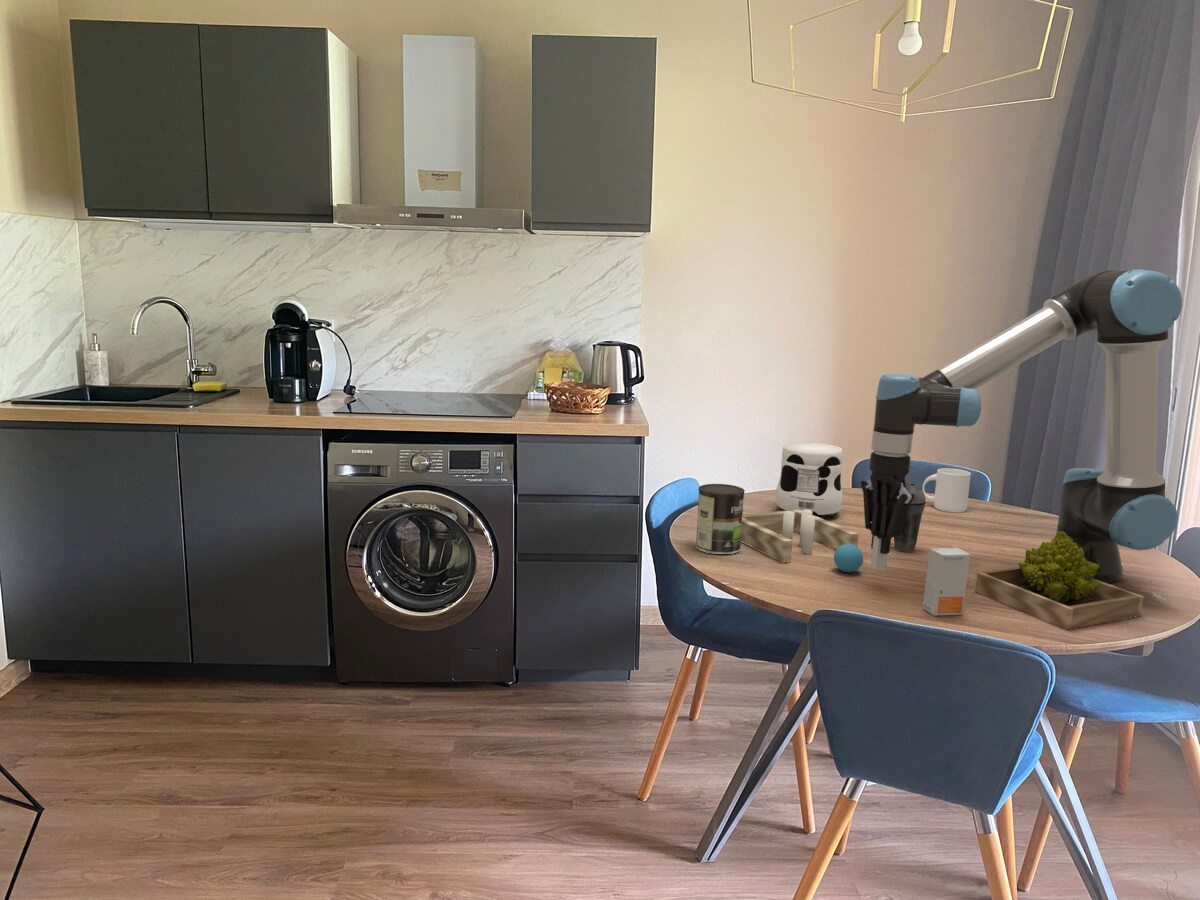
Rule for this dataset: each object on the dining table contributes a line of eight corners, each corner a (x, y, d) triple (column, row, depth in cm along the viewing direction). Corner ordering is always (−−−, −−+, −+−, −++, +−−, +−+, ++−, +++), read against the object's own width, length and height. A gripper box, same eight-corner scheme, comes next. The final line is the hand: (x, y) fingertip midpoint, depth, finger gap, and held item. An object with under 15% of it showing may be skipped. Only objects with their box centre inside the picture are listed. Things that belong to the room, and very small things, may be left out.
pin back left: (793, 549, 201) (796, 513, 199) (785, 550, 200) (787, 514, 198) (787, 546, 203) (790, 510, 201) (779, 547, 202) (781, 511, 200)
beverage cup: (926, 549, 204) (935, 465, 200) (912, 555, 199) (921, 469, 195) (896, 542, 209) (904, 460, 205) (882, 548, 204) (890, 464, 200)
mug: (922, 502, 250) (926, 465, 248) (968, 508, 245) (972, 470, 243) (918, 508, 243) (922, 470, 241) (964, 514, 237) (969, 476, 235)
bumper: (856, 554, 198) (858, 533, 197) (783, 563, 190) (784, 541, 189) (797, 528, 218) (799, 509, 217) (729, 535, 210) (730, 515, 209)
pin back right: (811, 547, 203) (814, 511, 201) (803, 548, 202) (806, 512, 200) (805, 544, 205) (808, 509, 203) (796, 545, 204) (799, 509, 202)
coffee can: (747, 546, 201) (751, 487, 199) (731, 558, 193) (734, 496, 190) (705, 539, 206) (709, 481, 204) (688, 550, 197) (691, 489, 195)
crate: (1140, 616, 165) (1143, 596, 165) (1066, 630, 157) (1069, 609, 157) (1045, 580, 184) (1047, 562, 184) (974, 591, 176) (977, 572, 176)
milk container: (816, 503, 244) (821, 440, 241) (854, 519, 228) (860, 452, 225) (762, 507, 238) (766, 442, 235) (797, 524, 222) (803, 454, 219)
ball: (867, 574, 185) (870, 547, 183) (845, 577, 182) (847, 550, 181) (849, 565, 190) (851, 539, 189) (826, 568, 188) (829, 541, 186)
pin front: (814, 553, 198) (817, 517, 196) (805, 554, 197) (808, 518, 195) (807, 550, 200) (810, 514, 199) (799, 551, 199) (802, 515, 198)
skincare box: (934, 616, 162) (941, 554, 160) (922, 608, 166) (928, 547, 164) (964, 615, 163) (971, 554, 161) (951, 607, 167) (958, 547, 165)
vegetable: (1006, 586, 168) (1037, 517, 170) (1001, 599, 182) (1030, 534, 184) (1089, 621, 161) (1120, 548, 163) (1077, 631, 175) (1106, 564, 177)
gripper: (929, 458, 168) (915, 575, 172) (882, 446, 180) (871, 556, 184) (899, 460, 165) (886, 579, 169) (853, 447, 177) (842, 559, 181)
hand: (878, 567), depth 177 cm, fingers closed
